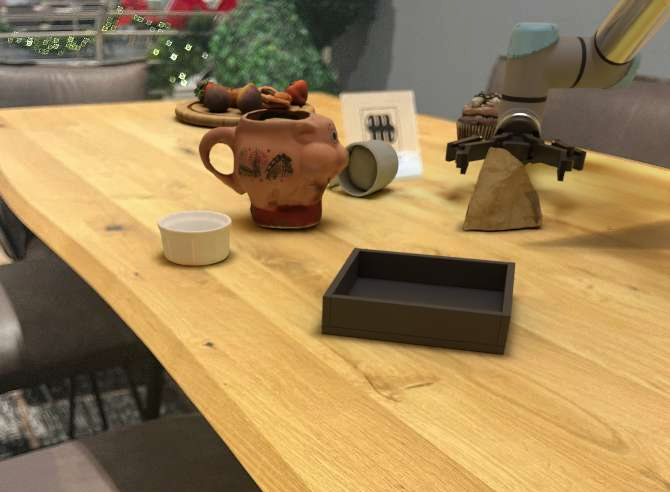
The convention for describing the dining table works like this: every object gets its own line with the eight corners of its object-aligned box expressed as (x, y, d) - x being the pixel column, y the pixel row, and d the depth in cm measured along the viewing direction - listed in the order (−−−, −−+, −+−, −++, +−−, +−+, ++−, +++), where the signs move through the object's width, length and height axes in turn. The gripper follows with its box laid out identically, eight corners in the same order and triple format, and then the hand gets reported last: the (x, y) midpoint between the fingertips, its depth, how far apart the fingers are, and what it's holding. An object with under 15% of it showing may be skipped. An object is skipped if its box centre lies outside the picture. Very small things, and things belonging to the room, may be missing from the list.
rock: (553, 203, 107) (486, 184, 110) (564, 159, 99) (491, 140, 102) (525, 265, 105) (456, 245, 108) (533, 225, 97) (459, 204, 100)
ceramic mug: (400, 189, 122) (403, 136, 118) (377, 200, 116) (380, 145, 112) (342, 181, 127) (343, 130, 122) (317, 191, 121) (318, 138, 117)
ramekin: (210, 272, 89) (208, 234, 87) (146, 261, 92) (142, 224, 90) (245, 251, 96) (244, 215, 93) (184, 241, 99) (182, 206, 96)
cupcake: (497, 144, 153) (505, 88, 148) (507, 154, 146) (516, 95, 140) (449, 143, 154) (456, 87, 148) (457, 153, 146) (464, 94, 140)
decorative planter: (198, 234, 101) (191, 119, 93) (205, 210, 111) (200, 103, 103) (348, 235, 101) (354, 120, 93) (342, 211, 111) (347, 104, 103)
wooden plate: (309, 106, 189) (310, 68, 185) (320, 130, 163) (322, 87, 159) (179, 106, 188) (177, 68, 183) (170, 130, 162) (167, 86, 157)
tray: (509, 296, 84) (515, 262, 82) (503, 354, 71) (511, 315, 69) (352, 281, 87) (354, 247, 85) (321, 333, 75) (322, 296, 73)
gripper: (591, 169, 124) (598, 202, 107) (437, 159, 129) (421, 188, 112) (602, 118, 120) (611, 144, 103) (442, 109, 125) (427, 133, 108)
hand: (512, 167), depth 108 cm, fingers open, 13 cm apart
